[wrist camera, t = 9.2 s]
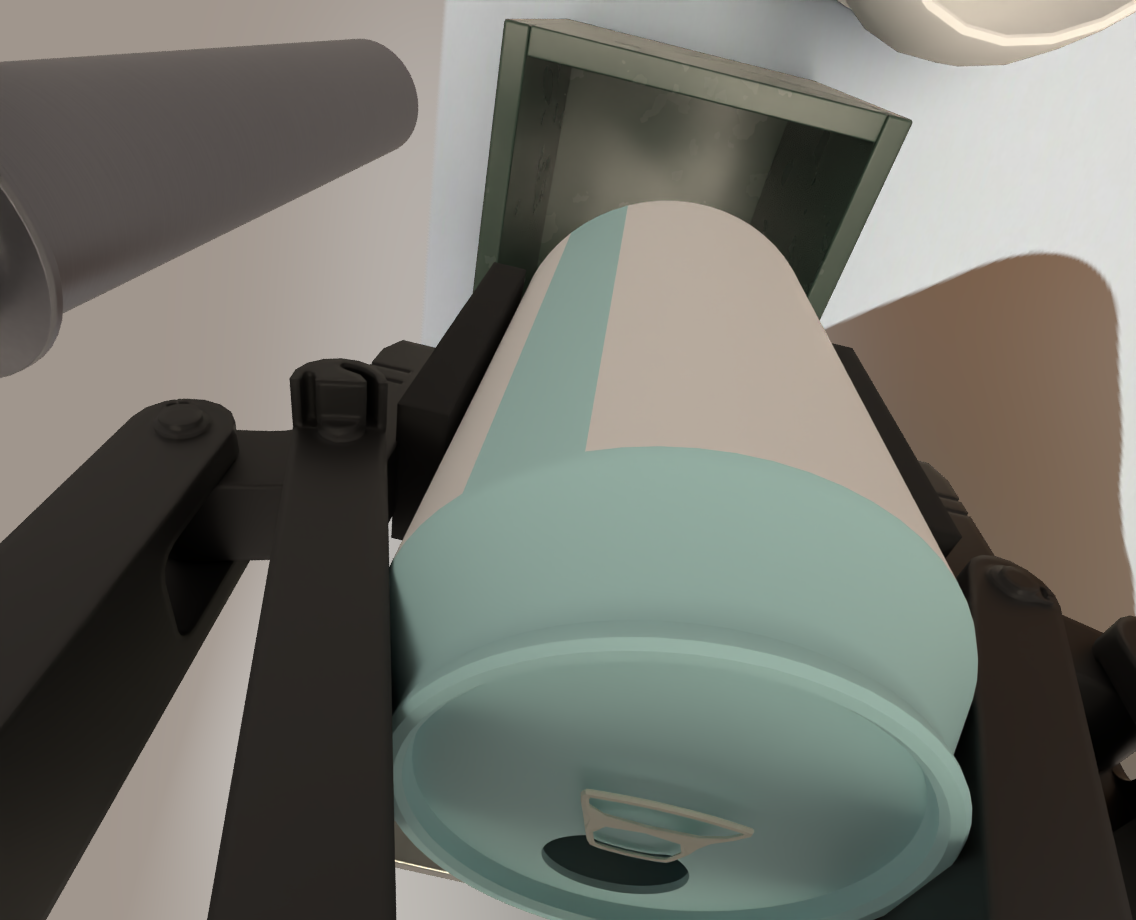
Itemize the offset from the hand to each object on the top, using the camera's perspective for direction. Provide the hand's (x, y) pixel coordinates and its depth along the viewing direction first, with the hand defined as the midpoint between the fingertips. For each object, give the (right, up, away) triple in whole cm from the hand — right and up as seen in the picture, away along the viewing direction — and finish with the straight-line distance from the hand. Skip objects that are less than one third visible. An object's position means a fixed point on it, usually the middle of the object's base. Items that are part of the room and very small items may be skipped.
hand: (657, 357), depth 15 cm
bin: (+2, +12, +20) cm, 23 cm away
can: (0, +1, +1) cm, 1 cm away
